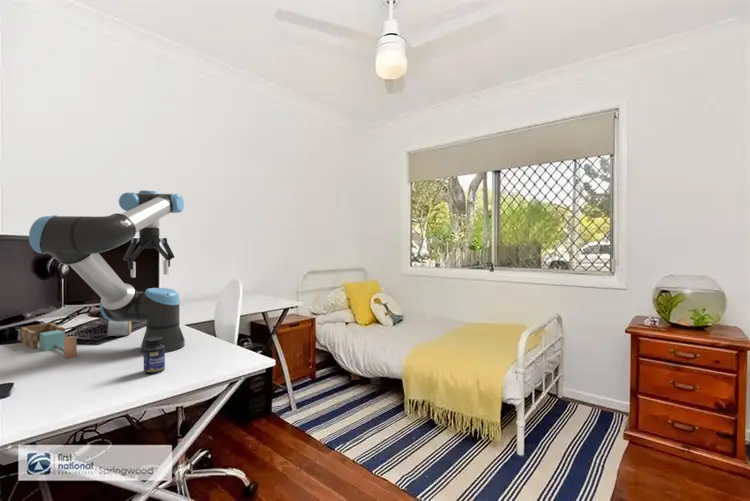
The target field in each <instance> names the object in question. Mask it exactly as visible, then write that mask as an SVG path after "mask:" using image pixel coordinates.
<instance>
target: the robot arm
mask: <svg viewBox="0 0 750 501" xmlns="http://www.w3.org/2000/svg"><path fill="white" fill-rule="evenodd" d="M118 204H119V206H120V209H122V210H123V211H124V212H123V213H119V212H118V213H112V214H109V215H105V216H91V215H90V216H87V215H86V216H79V215H77V216H72V215H70V216H69V215H68V216H67V215H59V216H58V215H56V214H55V215H45V216H40V217H39V218H37V219H36V220H35V221H34V222H33V223H32V225H31V227H30V229H29V232H28V235H29V236H28V240H29V245H30V247H31V249H32V250H33V251H34V252H36V253H38V254H41V255H47V254H48V255H50V256H51V257H53V259H55V260H56V261H57V262H58V263H60V264H61V265H65V266H69V267H70V268H71V269H72V270H73V271H75V273H77V275H79V277H80V278H81V279H82V280H83V281H84V282H85V283H86V284H87V285H88V286H89V287H90V288H91V289H92V290H93V291H94V292H95V293H96V294H97V295H98V296H99V298H100V302H99V309H100V313H101V315H102V317H103V318H105V320H106V321H109V320H110V321H115V322H127V321H131V322H145V332H144V335H143V338H142V342H141V344H140V348H141V352H143V350H144V347H145V346H147V344H146V339H147V338H151V337H162V342H161V344H163V345H164V346H165V353H167V352H168V353H169V352H173V351H177V350H179V349H182V348H184V347H185V345H186V344H185V343H186V342H185V340H186V339H185V337H184V335H183V334H184V333H183V332H182V329H181V326H180V323H181V322H180V303H181V302H180V294H179V292H178V291H177V290H175V289H172V288H167V287H151V288H147V289H145V291H137V290H136V289H135V287H134V286H133V285H131V284H129V283H125V282H124V281H123V280H122V279H121V278H120V277H119V275H118V274H117V273H116V272H115V270H113V268H112V267H111V266H110V265H109V264H108V263H107V261H106V260H105V259H104V258H103V257H102V255H101V254H100V253H105V252H107V251H110V250H112V249H116V248H117V247H120V246H121V245H124V244H126V243H128V242H129V241H130V244H129V246H128V248H127V249H126V251H125V254H123V257H122V260H123V261H125V262H127V263H128V264H127V266H128V267H127V269H128V270H130V277H131V278H137V277H136V274H137V273H136V270H137V267H136V265H137V264H136V261H135V260H136V258H137V257H138V256H139V255H140V254H141V253H142V252H143V251H145V249H146V250H147V249H155V250H156V251H157V252H158V253H159V254H160V255H161V256H162V257H163V262H162V264H163V266H162V267H163V275H166V276H167V275H169V267H171V260H172V259H174V258H175V254H174V253H173V251H172V249H171V247H170V246H169V243H168V238H166V237H162V238H160V228H159V227H160V220H161V219H162V218H163V217H165V216H166V215H169V214H172V213H173V214H177V213H181V212H182V211H183V210H184V207H185V201H184V198H183V196H182V195H180V194H179V193H178V194H177V193H159V192H158V191H156V190H155V191H154V190H142V189H141V190H139V191H138V193H137V192H136V193H135V192H123V193H122V194H121V195H119V199H118ZM137 233H138V234H139V235H138V236H139V238H136V237H135V236H136V234H137ZM138 243H139V245H138V246H137V244H138ZM160 243H161V244H162V246H163V248H162V246H161V245H160ZM136 246H137V248H136V249H135V247H136ZM133 251H134V252H133Z"/></svg>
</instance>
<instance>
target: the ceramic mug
mask: <svg viewBox="0 0 750 501" xmlns="http://www.w3.org/2000/svg"><path fill="white" fill-rule="evenodd" d="M107 323H108V324H107V337H108V336H116V337H126V336H130V335H131V333H132V321H127V322H115V321H110V320H108V322H107Z"/></svg>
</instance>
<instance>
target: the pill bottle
mask: <svg viewBox="0 0 750 501" xmlns="http://www.w3.org/2000/svg"><path fill="white" fill-rule="evenodd" d="M161 342H162V337H151V338H147V339H146V344H147V346H145V347H144V350H143V351H142V352H143V373H144V372H145V373H144V374H146V373H156V374H158V373H157V372H160V373H162V372H163V371H165V369H166V365H165V364H166V363H165V362H166V361H165V360H166V358H165V357H166V355H165V354H166V352H165V346H164V345H163V344H161ZM161 371H162V372H161Z"/></svg>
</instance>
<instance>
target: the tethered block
mask: <svg viewBox="0 0 750 501" xmlns="http://www.w3.org/2000/svg"><path fill="white" fill-rule="evenodd" d="M39 348H40V349H41V350H42V351H45V352H48V351H53V350H59V351H61V352H63V357H64V359H65V358H66V359H69V358H75V357H77V355H78V354H77V353H78V352H77V351H78V348H77V336H76V335H72V336H66V331H65V332H63V331H60V330H56V331H50V332H44V333H40V339H39Z"/></svg>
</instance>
